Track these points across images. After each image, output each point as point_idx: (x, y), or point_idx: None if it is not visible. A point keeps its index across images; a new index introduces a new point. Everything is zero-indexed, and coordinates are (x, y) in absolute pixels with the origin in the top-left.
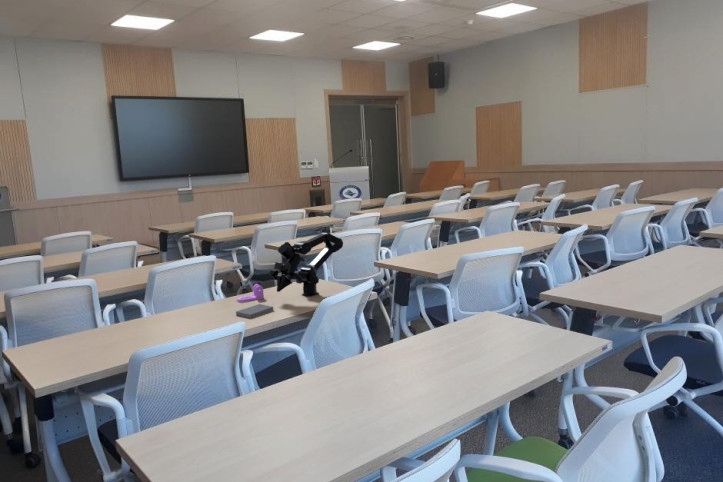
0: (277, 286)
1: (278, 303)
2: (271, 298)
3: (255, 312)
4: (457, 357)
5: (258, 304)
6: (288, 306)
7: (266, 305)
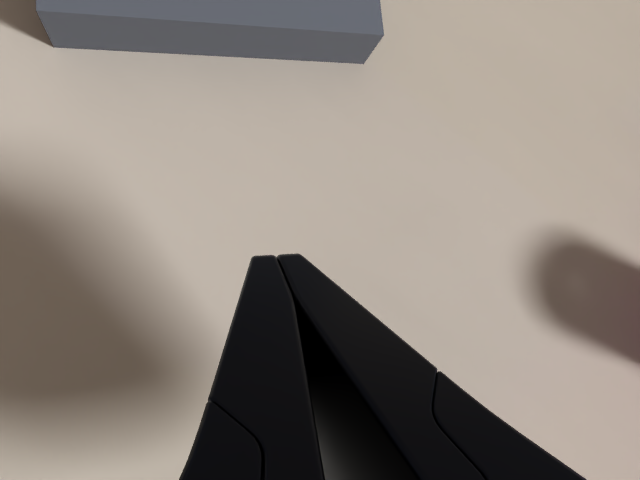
0: (363, 317)
1: None
2: (605, 448)
3: None
4: None
5: (370, 11)
6: (3, 331)
7: (215, 21)
